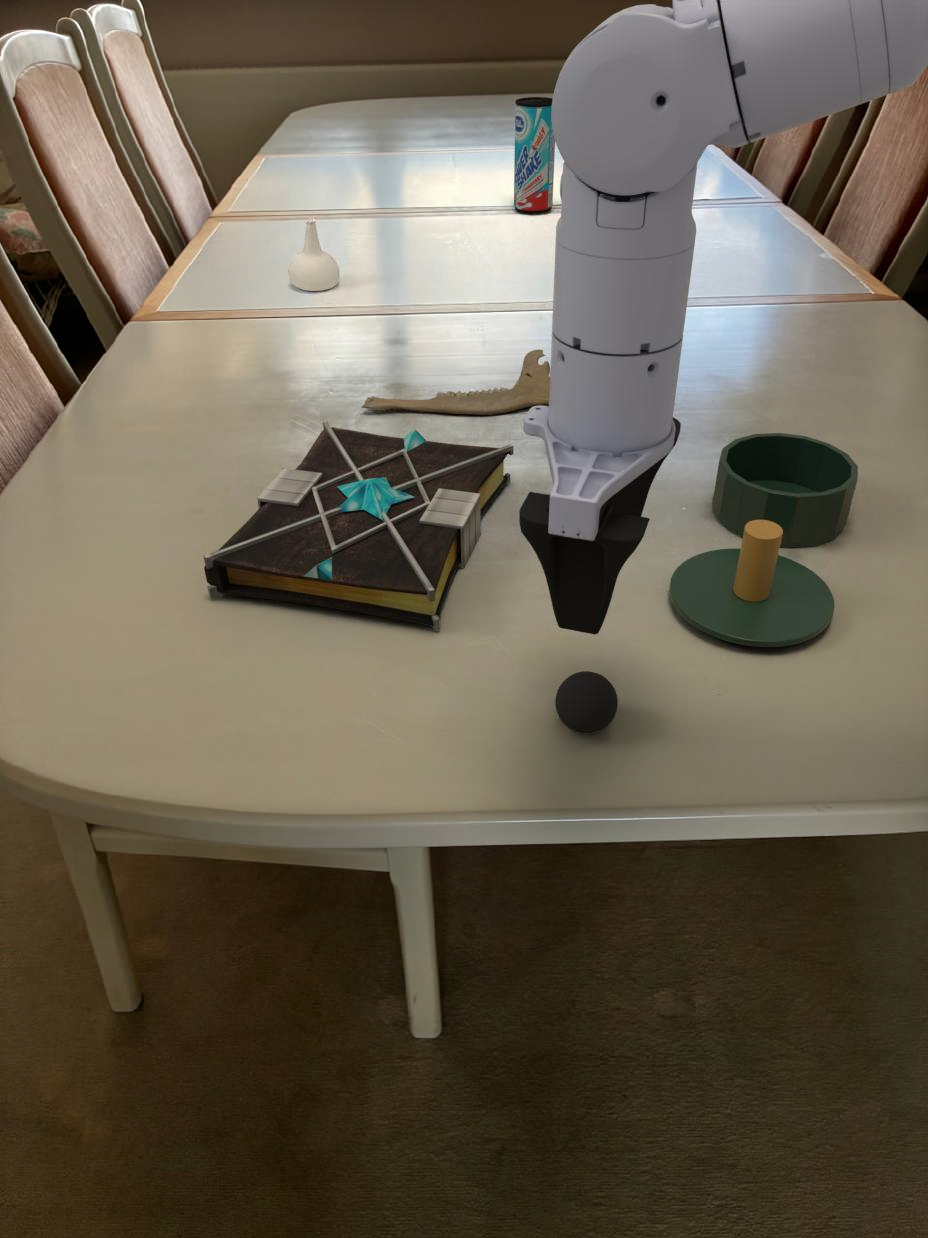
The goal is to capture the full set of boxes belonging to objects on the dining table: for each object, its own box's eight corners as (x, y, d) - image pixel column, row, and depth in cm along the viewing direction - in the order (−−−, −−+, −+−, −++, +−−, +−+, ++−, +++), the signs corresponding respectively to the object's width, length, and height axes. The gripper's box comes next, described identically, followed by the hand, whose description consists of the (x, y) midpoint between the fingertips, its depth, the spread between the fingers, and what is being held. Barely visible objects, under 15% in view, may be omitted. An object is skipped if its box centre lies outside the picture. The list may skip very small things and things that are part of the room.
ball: (620, 711, 57) (626, 665, 55) (608, 752, 55) (613, 705, 52) (562, 699, 58) (565, 653, 56) (547, 739, 56) (549, 692, 53)
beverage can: (506, 208, 148) (507, 99, 138) (539, 203, 150) (542, 95, 141) (526, 217, 143) (529, 105, 134) (559, 212, 146) (564, 101, 136)
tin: (845, 491, 77) (858, 442, 75) (843, 557, 70) (857, 505, 67) (720, 474, 80) (728, 426, 77) (704, 535, 73) (712, 484, 70)
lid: (833, 575, 68) (853, 500, 64) (828, 668, 60) (850, 589, 56) (680, 550, 71) (691, 477, 67) (656, 636, 63) (666, 559, 59)
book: (325, 458, 83) (319, 404, 80) (514, 481, 80) (515, 426, 77) (207, 600, 67) (194, 540, 64) (437, 638, 63) (435, 576, 60)
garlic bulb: (313, 274, 124) (306, 209, 119) (350, 282, 121) (345, 216, 116) (279, 288, 120) (270, 221, 115) (317, 297, 117) (310, 228, 112)
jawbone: (590, 402, 93) (592, 383, 91) (401, 456, 85) (400, 436, 84) (539, 363, 99) (541, 345, 97) (358, 411, 91) (357, 391, 90)
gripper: (567, 272, 49) (556, 505, 57) (479, 385, 38) (481, 653, 46) (708, 285, 47) (675, 523, 55) (659, 408, 36) (627, 682, 44)
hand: (595, 584), depth 50 cm, fingers open, 7 cm apart
